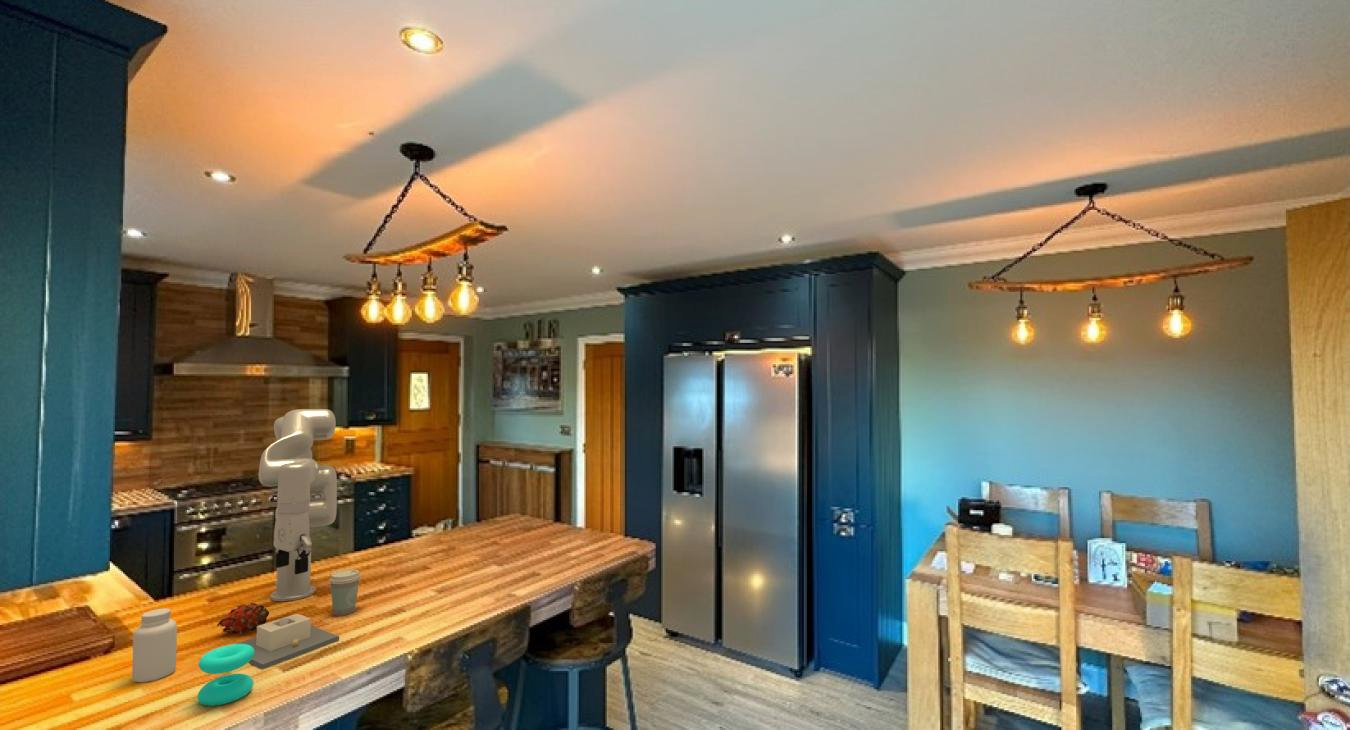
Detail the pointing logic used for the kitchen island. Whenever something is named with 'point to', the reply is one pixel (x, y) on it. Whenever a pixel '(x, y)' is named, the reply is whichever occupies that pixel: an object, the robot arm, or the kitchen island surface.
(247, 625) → the dragon fruit
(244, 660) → the donuts
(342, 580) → the coffee cup
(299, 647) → the pin plate
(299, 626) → the flange block
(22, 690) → the kitchen island surface
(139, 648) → the pill bottle
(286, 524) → the robot arm
